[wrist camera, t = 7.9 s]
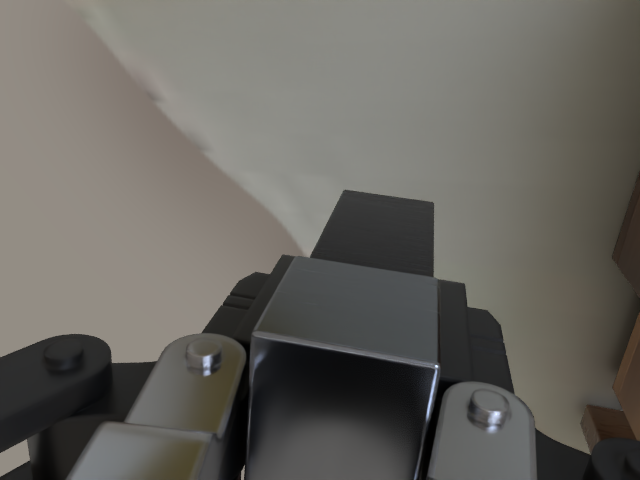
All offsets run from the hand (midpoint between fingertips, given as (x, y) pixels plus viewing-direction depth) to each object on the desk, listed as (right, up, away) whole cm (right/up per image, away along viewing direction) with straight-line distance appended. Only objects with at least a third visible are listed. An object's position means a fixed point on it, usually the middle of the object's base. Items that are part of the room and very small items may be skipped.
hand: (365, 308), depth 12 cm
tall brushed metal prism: (+1, +1, +3) cm, 4 cm away
